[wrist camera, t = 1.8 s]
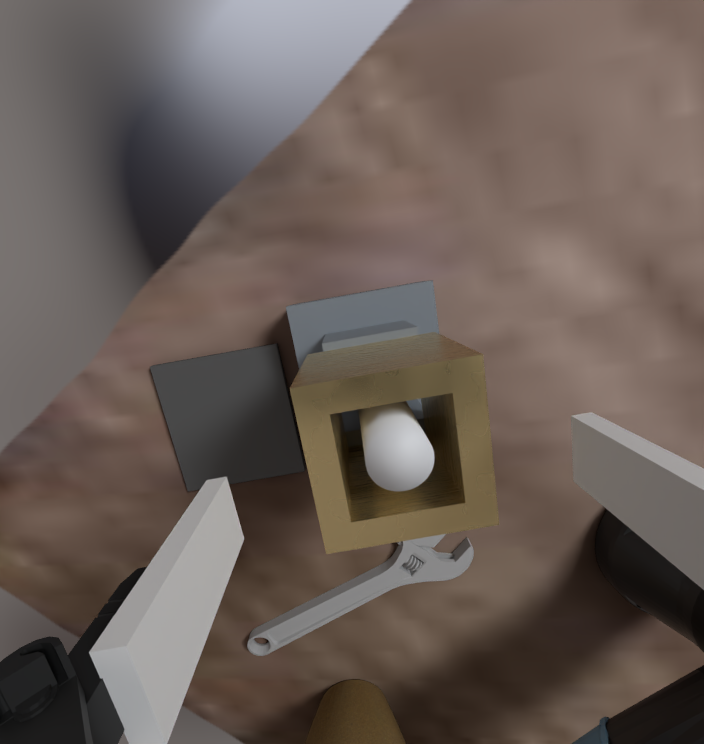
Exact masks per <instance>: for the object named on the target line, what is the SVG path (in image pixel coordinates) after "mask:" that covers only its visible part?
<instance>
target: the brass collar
mask: <svg viewBox="0 0 704 744" xmlns="http://www.w3.org/2000/svg"><path fill="white" fill-rule="evenodd" d="M290 392H291V397H292V401H293V406H294V411H295V415H296V420H297V424H298V429H299V433H300V438H301V442H302V447H303V451H304V456H305V460H306V465H307V469H308V474H309V478H310V483H311V487H312V492H313V496H314V501H315V505H316V510H317V514H318V519H319V523H320V528H321V532H322V537H323V541H324V546H325V550H326V554H330V553H336V552H342V551H348V550H354V549H360V548H365V547H371V546H377V545H383V544H389V543H395V542H401V541H407V540H412V539H418V538H424V537H430V536H436V535H442V534H448V533H453V532H459V531H465V530H471V529H477V528H483V527H489V526H495V525H499V518H498V507H497V497H496V486H495V476H494V465H493V455H492V444H491V434H490V423H489V413H488V402H487V392H486V381H485V371H484V360H483V354H481V353H479V352H477V351H475V350H473V349H470V348H468V347H466V346H464V345H462V344H460V343H457V342H455V341H453V340H451V339H449V338H447V337H444V336H442V335H440V334H438V333H436V332H431V333H425V334H419V335H414V336H408V337H403V338H397V339H391V340H386V341H380V342H374V343H369V344H363V345H357V346H352V347H346V348H341V349H335V350H329V351H324V352H318V353H312V354H308V355H307V356H306V358H305V360H304V362H303V364H302V366H301V368H300V370H299V372H298V373H297V375H296V377H295V379H294V381H293V383H292V385H291V387H290ZM420 398H421V404H422V411H423V419H424V426H425V433H426V434H425V435H426V436H427V438H428V440H429V442H430V444H431V445H432V448H433V451H434V465H433V469H432V471H431V473H430V475H429V476H428V478H427V479H426V480H425V481H424V482H423V483H422V484H420V485H419V486H417V487H415V488H413V489H410V490H407V491H390V490H387V489H384V488H382V487H380V486H379V485H377V484H376V483H375V482H374V481H373V480H372V479H371V477H370V476H369V474H368V472H367V469H366V464H365V457H364V449H363V445H358V446H352V447H348V444H347V438H346V433H345V428H344V423H343V417H342V412H346V411H352V410H358V409H363V408H369V407H375V406H380V405H386V404H392V403H398V402H403V401H409V400H415V399H420Z"/></svg>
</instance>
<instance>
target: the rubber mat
mask: <svg viewBox="0 0 704 744" xmlns="http://www.w3.org/2000/svg"><path fill="white" fill-rule="evenodd" d="M150 370H151V373H152V376H153V379H154V383H155V386H156V389H157V392H158V396H159V399H160V402H161V405H162V409H163V412H164V415H165V418H166V422H167V425H168V428H169V431H170V435H171V438H172V441H173V444H174V448H175V451H176V454H177V457H178V461H179V464H180V467H181V470H182V474H183V477H184V480H185V483H186V487H187V490H188V491H194V490H200V489H201V488H202V486H203V485H204V483H205V482H206V480H210V479H216V478H221V477H227V480H228V483H229V484H234V483H240V482H246V481H252V480H257V479H263V478H269V477H275V476H280V475H286V474H292V473H298V472H304V471H305V465H304V460H303V456H302V451H301V447H300V442H299V438H298V433H297V429H296V424H295V420H294V415H293V411H292V406H291V402H290V397H289V393H288V388H287V384H286V379H285V375H284V370H283V366H282V361H281V357H280V353H279V348H278V344H277V343H276V344H271V345H265V346H260V347H254V348H248V349H243V350H237V351H232V352H226V353H220V354H215V355H209V356H203V357H198V358H192V359H187V360H181V361H175V362H170V363H164V364H159V365H153V366H151V367H150Z"/></svg>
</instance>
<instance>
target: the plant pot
mask: <svg viewBox="0 0 704 744" xmlns="http://www.w3.org/2000/svg"><path fill="white" fill-rule="evenodd" d="M305 744H406V743H405V740H404V738H403V735H402V733H401V731H400V728H399V726H398V724H397V721H396V719H395V717H394V715H393V713H392V710H391V708H390V706H389V704H388V702H387V700H386V698H385V696H384V694H383V693H382V691H381V690H380V689H379V688H378V687H377V686H375V685H374V684H372V683H370V682H367V681H364V680H354V679H353V680H346V681H342V682H339V683H337V684H335V685H334V686H332V687H331V688H330V689H328V690H327V692H326V693H325V694H324V696H323V698H322V700H321V702H320V705H319V707H318V710H317V712H316V715H315V717H314V720H313V722H312V725H311V728H310V730H309V733H308V736H307V739H306V742H305Z"/></svg>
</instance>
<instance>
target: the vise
mask: <svg viewBox="0 0 704 744" xmlns="http://www.w3.org/2000/svg"><path fill="white" fill-rule="evenodd" d="M286 310H287V315H288V319H289V324H290V329H291V333H292V338H293V343H294V348H295V352H296V357H297V362H298V366H299V370H300V368H301V366H302V364H303V362H304V360H305V358H306V356H307V355H308V354H312V353H318V352H324V351H329V350H335V349H341V348H346V347H352V346H357V345H363V344H369V343H374V342H380V341H386V340H391V339H397V338H403V337H408V336H414V335H419V334H425V333H431V332H436V333H438V334H439V328H438V320H437V312H436V304H435V295H434V287H433V280H432V281H422V282H416V283H410V284H405V285H399V286H394V287H388V288H382V289H377V290H371V291H366V292H360V293H355V294H349V295H343V296H338V297H332V298H327V299H321V300H316V301H310V302H304V303H299V304H293V305H290V306H287V307H286ZM342 417H343V423H344V428H345V433H346V438H347V444H348V447H352V446H358V445H363V449H364V457H365V464H366V469H367V472H368V474H369V476H370V477H371V479H372V480H373V481H374V482H375V483H376V484H377V485H379V486H380V487H382V488H384V489H387V490H390V491H407V490H410V489H413V488H415V487H417V486H419V485H420V484H422V483H423V482H424V481H425V480H426V479H427V478H428V476H429V475H430V473H431V471H432V469H433V465H434V451H433V448H432V445H431V444H430V442H429V440H428V438H427V436H426V435H425V434H426V433H425V426H424V419H423V411H422V404H421V398H420V399H415V400H409V401H403V402H398V403H392V404H386V405H380V406H375V407H369V408H363V409H358V410H352V411H346V412H342Z"/></svg>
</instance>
